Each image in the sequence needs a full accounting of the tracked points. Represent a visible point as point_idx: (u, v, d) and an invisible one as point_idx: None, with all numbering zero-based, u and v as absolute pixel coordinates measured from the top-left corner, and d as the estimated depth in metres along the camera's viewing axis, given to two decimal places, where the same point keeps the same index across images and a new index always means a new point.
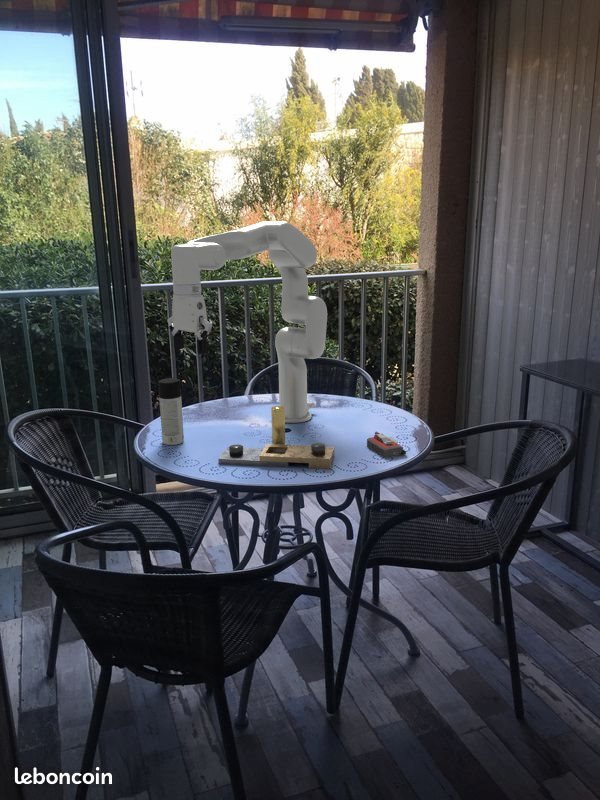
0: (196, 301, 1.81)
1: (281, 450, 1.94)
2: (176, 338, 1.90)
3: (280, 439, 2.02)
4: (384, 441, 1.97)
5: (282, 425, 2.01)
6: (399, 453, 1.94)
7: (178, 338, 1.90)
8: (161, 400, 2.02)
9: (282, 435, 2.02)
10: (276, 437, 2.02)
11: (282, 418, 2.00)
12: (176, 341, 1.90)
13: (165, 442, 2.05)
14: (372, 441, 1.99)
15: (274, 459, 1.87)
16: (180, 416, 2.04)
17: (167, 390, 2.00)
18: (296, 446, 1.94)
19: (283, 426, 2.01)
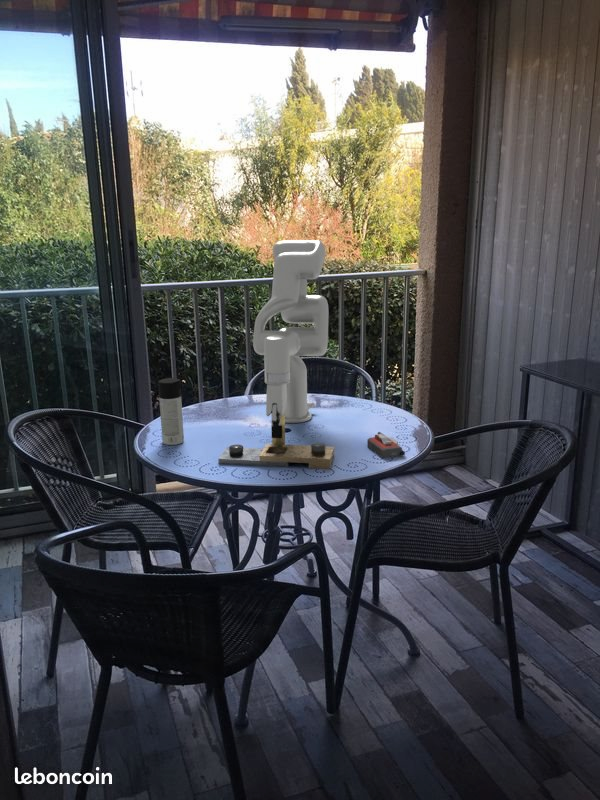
0: None
1: (281, 450, 1.94)
2: None
3: (280, 439, 2.02)
4: (383, 441, 1.96)
5: (282, 425, 2.01)
6: (398, 454, 1.93)
7: None
8: (161, 400, 2.02)
9: (282, 435, 2.02)
10: None
11: (282, 418, 2.00)
12: None
13: (165, 442, 2.05)
14: (372, 441, 1.99)
15: (274, 459, 1.87)
16: (180, 416, 2.04)
17: (167, 390, 2.00)
18: (296, 446, 1.94)
19: (283, 426, 2.01)
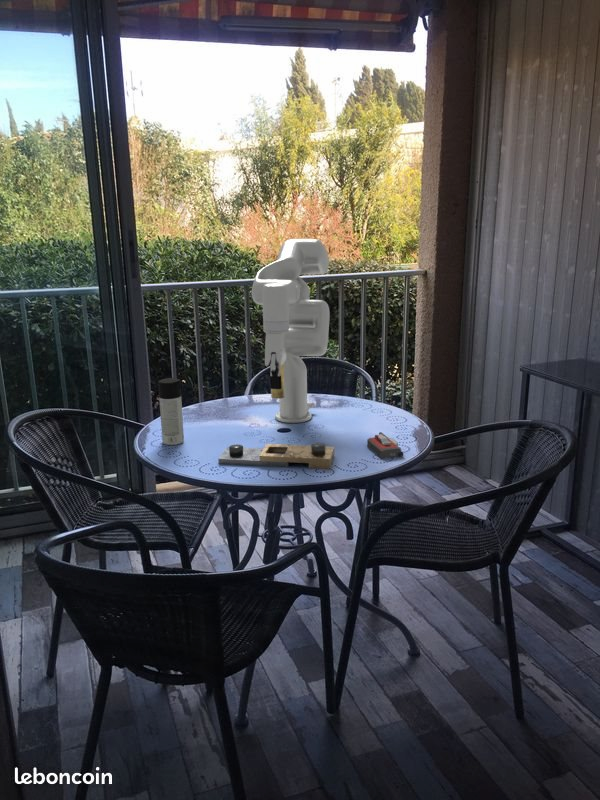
0: None
1: (281, 450, 1.94)
2: None
3: (279, 390, 1.98)
4: (383, 442, 1.96)
5: (282, 375, 1.97)
6: (396, 454, 1.93)
7: None
8: (161, 400, 2.02)
9: (282, 386, 1.98)
10: None
11: (281, 368, 1.96)
12: None
13: (165, 442, 2.05)
14: (372, 441, 1.99)
15: (274, 459, 1.87)
16: (180, 416, 2.04)
17: (167, 390, 2.00)
18: (296, 446, 1.94)
19: (282, 377, 1.97)
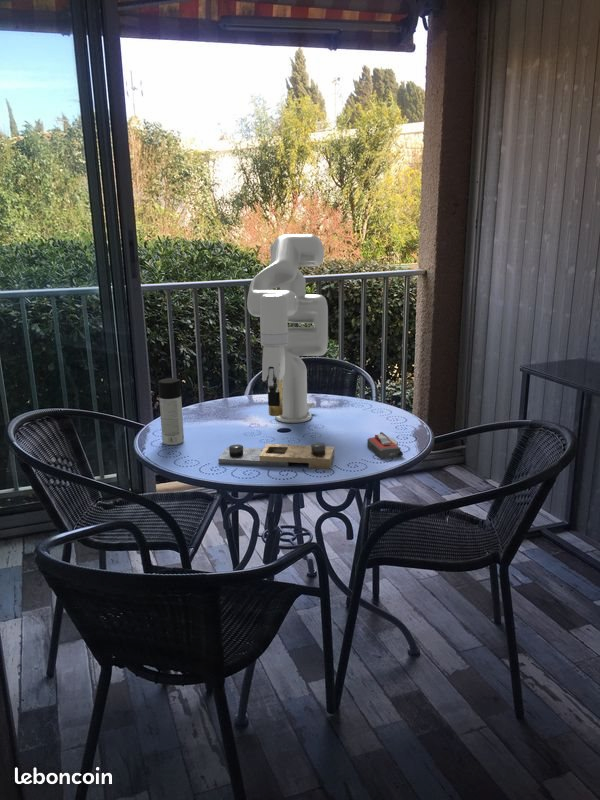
0: None
1: (281, 450, 1.94)
2: None
3: (277, 407, 1.85)
4: (382, 441, 1.96)
5: (280, 391, 1.85)
6: (396, 454, 1.93)
7: None
8: (161, 400, 2.02)
9: (280, 402, 1.85)
10: None
11: (279, 384, 1.84)
12: None
13: (165, 442, 2.05)
14: (371, 441, 1.99)
15: (274, 459, 1.87)
16: (180, 416, 2.04)
17: (167, 390, 2.00)
18: (296, 446, 1.94)
19: (281, 393, 1.85)
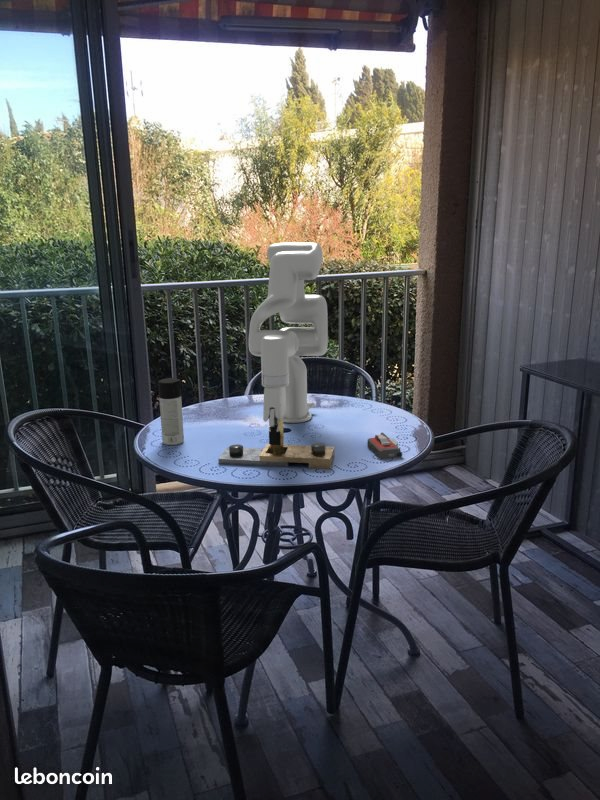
0: None
1: None
2: None
3: (278, 446, 1.89)
4: (382, 442, 1.96)
5: (281, 430, 1.88)
6: (395, 455, 1.93)
7: None
8: (161, 400, 2.02)
9: (281, 441, 1.89)
10: None
11: (280, 423, 1.87)
12: None
13: (165, 442, 2.05)
14: (371, 441, 1.99)
15: (274, 459, 1.87)
16: (180, 416, 2.04)
17: (167, 390, 2.00)
18: (296, 446, 1.94)
19: (281, 432, 1.88)
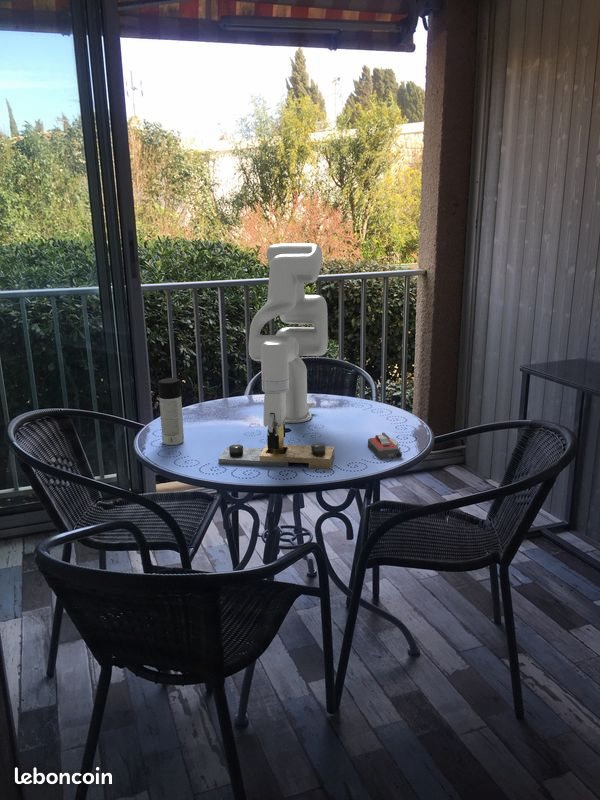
0: None
1: None
2: None
3: None
4: (382, 442, 1.96)
5: (281, 438, 1.89)
6: (395, 455, 1.93)
7: None
8: (161, 400, 2.02)
9: (281, 449, 1.90)
10: (274, 451, 1.89)
11: (281, 432, 1.88)
12: None
13: (165, 442, 2.05)
14: (371, 441, 1.99)
15: (274, 459, 1.87)
16: (180, 416, 2.04)
17: (167, 390, 2.00)
18: (296, 446, 1.94)
19: (282, 440, 1.89)
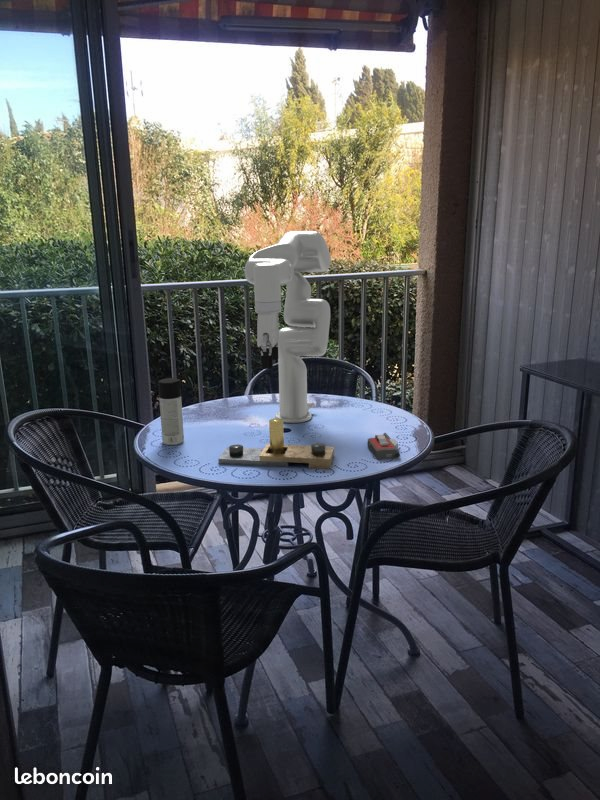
0: None
1: None
2: None
3: None
4: (381, 442, 1.96)
5: (281, 438, 1.89)
6: (393, 455, 1.92)
7: None
8: (161, 400, 2.02)
9: (281, 449, 1.90)
10: (274, 451, 1.89)
11: (281, 432, 1.88)
12: None
13: (165, 442, 2.05)
14: (371, 441, 1.99)
15: (274, 459, 1.87)
16: (180, 416, 2.04)
17: (167, 390, 2.00)
18: (296, 446, 1.94)
19: (282, 440, 1.89)
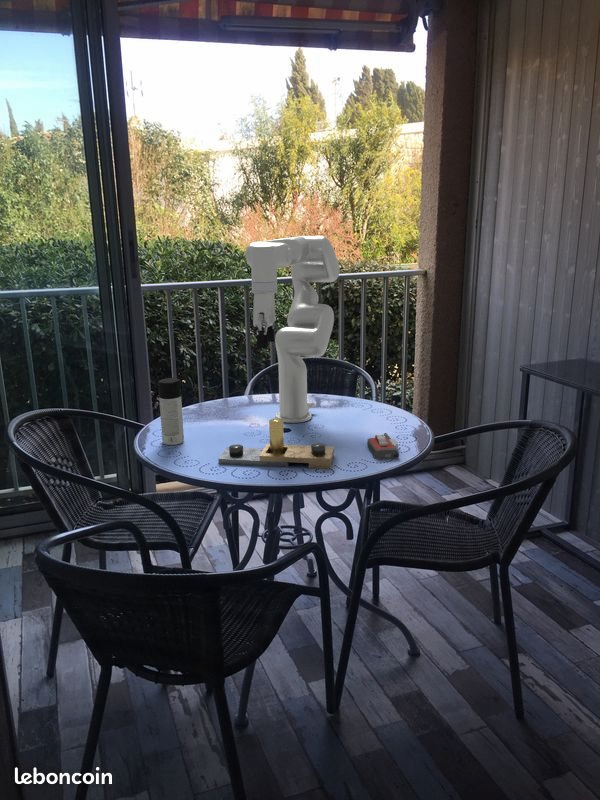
0: None
1: None
2: None
3: None
4: (380, 442, 1.96)
5: (281, 438, 1.89)
6: (392, 455, 1.92)
7: None
8: (161, 400, 2.02)
9: (281, 449, 1.90)
10: (274, 451, 1.89)
11: (281, 432, 1.88)
12: None
13: (165, 442, 2.05)
14: (370, 441, 1.99)
15: (274, 459, 1.87)
16: (180, 416, 2.04)
17: (167, 390, 2.00)
18: (296, 446, 1.94)
19: (282, 440, 1.89)
